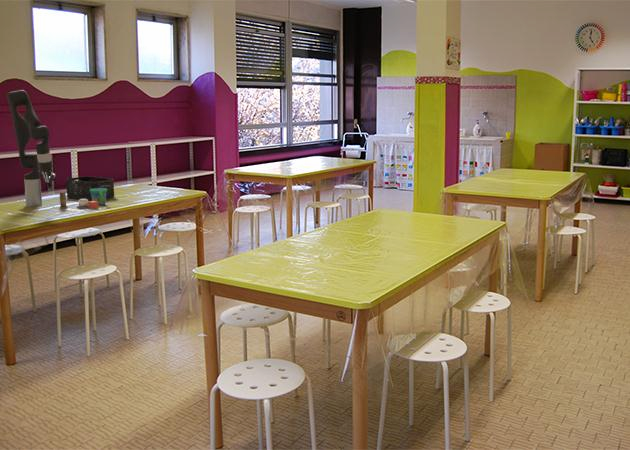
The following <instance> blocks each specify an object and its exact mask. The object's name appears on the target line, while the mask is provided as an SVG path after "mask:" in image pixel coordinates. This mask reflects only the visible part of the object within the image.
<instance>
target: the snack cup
mask: <svg viewBox="0 0 630 450" xmlns="http://www.w3.org/2000/svg"><path fill="white" fill-rule="evenodd" d="M106 192H107V189H106V188H94V189H90V193H91V197H92V201H97V202H98V206H105V205H106V202H107V199H106Z"/></svg>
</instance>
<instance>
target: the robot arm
mask: <svg viewBox="0 0 630 450" xmlns="http://www.w3.org/2000/svg"><path fill="white" fill-rule="evenodd" d="M6 99H7V102H8V103H7V104H8V105H9V109H10V113H11V116H12V122H13V129H14V135H15V138H16V142H17V143H16V144H17V148H18V157H19V158H18V159H19V164H20V167H21V168H22V169H33V170H32V171H30V172H28V173H25V174H24V175H23V179H24V182H23V183H24V190H25V191H24V199H25V206H26V207H27V208H29V207H31V208H33V207H35V208H36V207H41V206H43V200H42V199H43V198H42V186H41V179H42V180H43V181H45V183H46V186H47V188H48V189H51V188H52V187H53V182H54V181H55V179H56V177H57V174H56V173H54V171H53V168H54V164H53V160H52V154H51V153H50V152H51V151H50V145H49V143H50V142H49V141H50V140H49V139H50V130H49V127H48V126H46V125H41V120H40V119H39V117H38V116H37V114H36V112H35V110H34V107H33V104H32V102H31V100H30V97H29V95H28V93H27V91H25V90H24V89H19V90H14V91H9V92H7V97H6ZM19 107H25V110H24V113H23V116H22V115H21V113H19V111H18V108H19ZM31 139H32V140H35V141H38V140H41V141H38V142H36V143H35V151H36V153H26V148H27V146H28V144H29V142H30V140H31Z"/></svg>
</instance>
